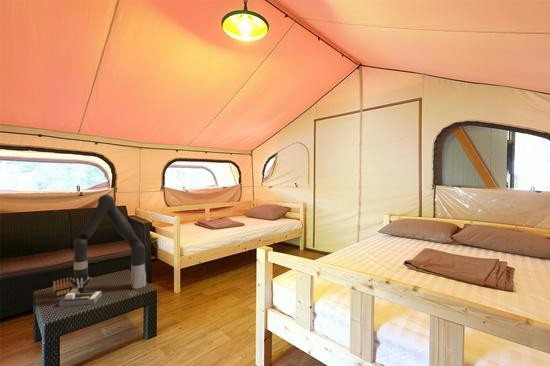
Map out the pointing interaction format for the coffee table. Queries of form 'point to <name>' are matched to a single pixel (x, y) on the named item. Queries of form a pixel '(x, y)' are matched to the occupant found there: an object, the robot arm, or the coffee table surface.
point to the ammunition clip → (62, 288)
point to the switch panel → (82, 298)
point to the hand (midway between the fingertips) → (81, 292)
